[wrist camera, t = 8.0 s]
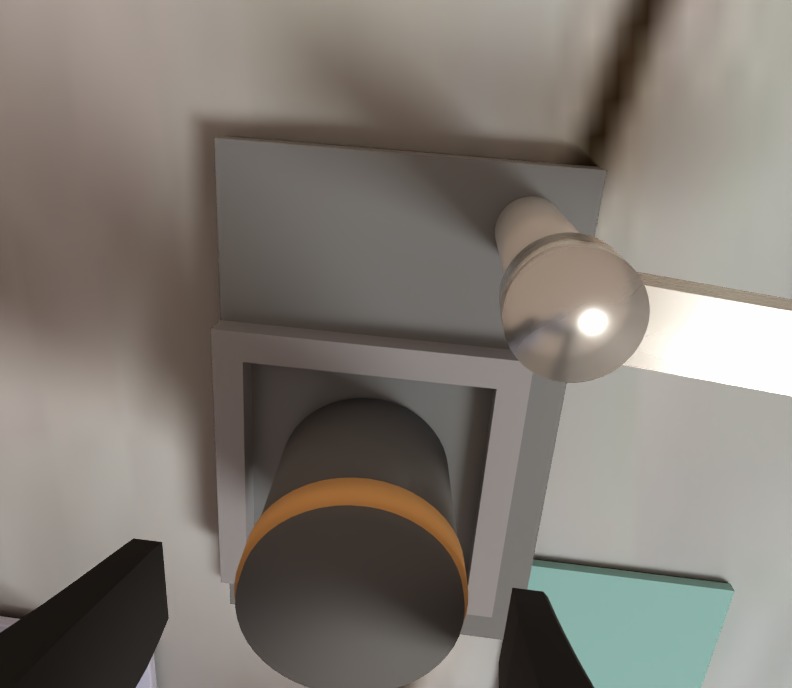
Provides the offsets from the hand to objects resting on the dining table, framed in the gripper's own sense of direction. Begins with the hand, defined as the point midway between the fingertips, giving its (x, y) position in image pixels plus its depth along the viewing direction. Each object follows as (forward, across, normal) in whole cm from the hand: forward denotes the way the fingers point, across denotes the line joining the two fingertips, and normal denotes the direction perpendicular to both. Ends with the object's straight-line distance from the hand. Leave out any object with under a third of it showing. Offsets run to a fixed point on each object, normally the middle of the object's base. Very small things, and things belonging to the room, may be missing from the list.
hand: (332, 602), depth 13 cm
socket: (+6, 0, -1) cm, 6 cm away
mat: (+6, -8, +6) cm, 12 cm away
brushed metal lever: (0, -7, -7) cm, 10 cm away
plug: (+5, 0, 0) cm, 5 cm away
